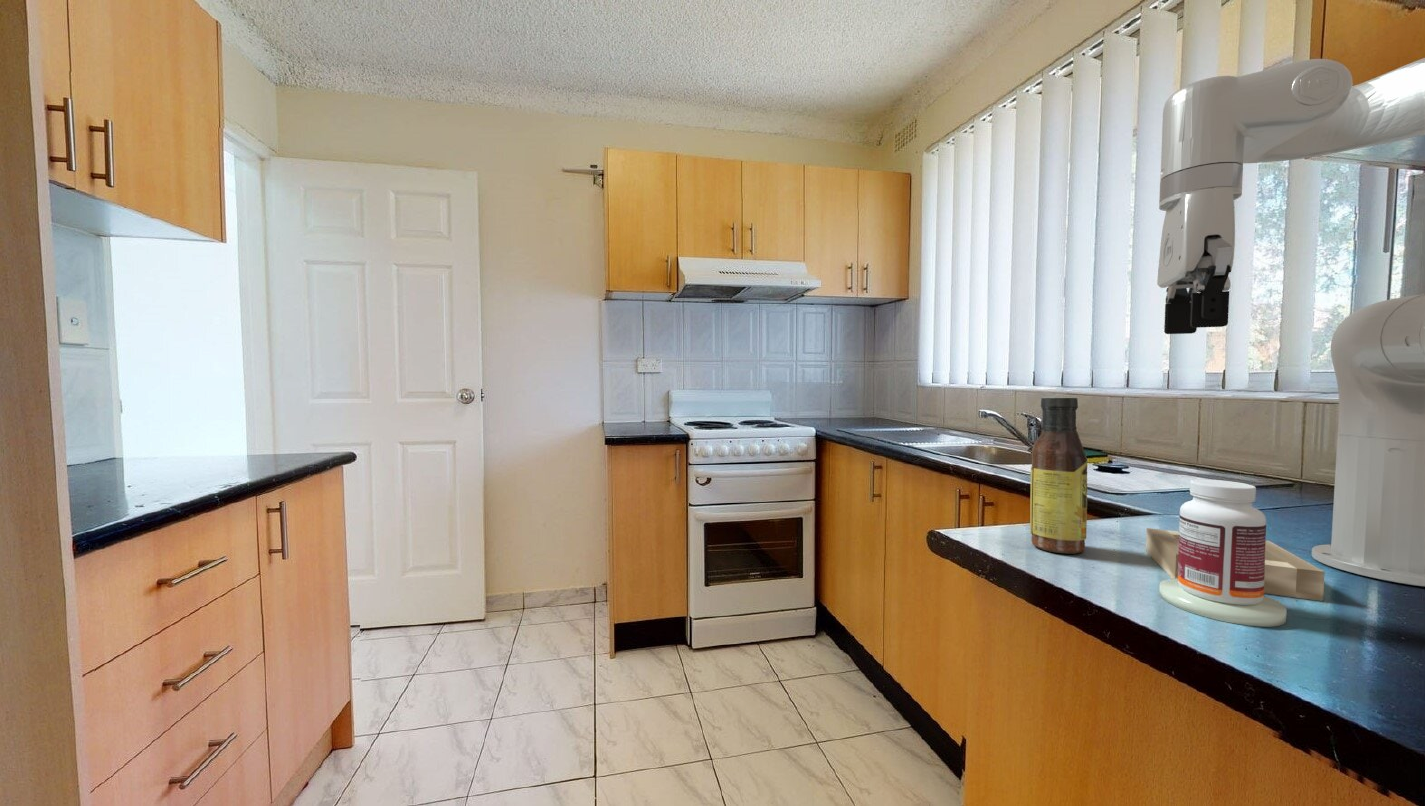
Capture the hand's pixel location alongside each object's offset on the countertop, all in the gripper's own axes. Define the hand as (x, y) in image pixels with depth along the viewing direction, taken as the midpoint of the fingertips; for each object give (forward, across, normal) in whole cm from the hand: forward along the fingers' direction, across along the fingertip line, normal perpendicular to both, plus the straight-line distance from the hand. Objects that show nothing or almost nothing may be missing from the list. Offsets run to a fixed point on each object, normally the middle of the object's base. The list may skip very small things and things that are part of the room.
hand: (1193, 330), depth 66 cm
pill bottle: (+28, +18, -2) cm, 33 cm away
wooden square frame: (+28, +6, +2) cm, 29 cm away
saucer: (+28, +18, -2) cm, 34 cm away
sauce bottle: (+28, +4, -14) cm, 32 cm away
